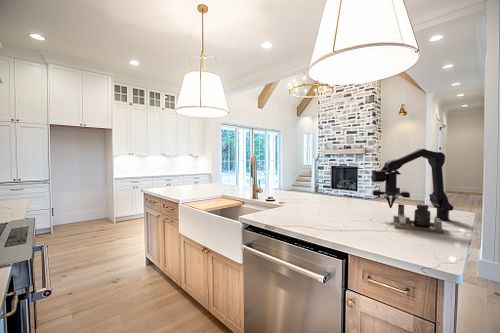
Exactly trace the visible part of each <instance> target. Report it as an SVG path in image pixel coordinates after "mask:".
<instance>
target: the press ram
mask: <svg viewBox="0 0 500 333" xmlns="http://www.w3.org/2000/svg"><path fill="white" fill-rule="evenodd" d="M397 216H398V217H399V222H398V225H405V226H407V225H406V224H407V223H406V217H407V216H406V215H405V204H398V205H397Z"/></svg>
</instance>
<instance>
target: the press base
mask: <svg viewBox="0 0 500 333" xmlns="http://www.w3.org/2000/svg"><path fill="white" fill-rule="evenodd" d="M405 217H406V224H408V223H409V224H408V225H406V226H405V225H400V224H393V225H394V227H393V228H394V229H399V230H406V229H407V231H408V230H409V231H415V232H421V233H423V232H424V233H429V234H430V233H431V234H439V235H440V234H441V235H444V230H443V220H440V219H439V218H435V217H433V222H431V221H430V228H422V227H415V226H414V220H412V219H411V218H410V217H408V216H405ZM392 220H393V223H399V217H398V215H393V219H392Z"/></svg>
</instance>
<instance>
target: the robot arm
mask: <svg viewBox="0 0 500 333" xmlns="http://www.w3.org/2000/svg"><path fill="white" fill-rule="evenodd" d="M418 158H424V159H426V160H427V162H428V165H429V166H430V167H431V168H430V169H431V176H432V178H431V179H432V193H429V194H428V195H429V201H430V203H431V204H432V205H433V208H436V214H435V215H436V216H434V218H439V219H440V220H441V221H444V222H447V221H448V222H451V219H450V211H451V212H452V211H453V209H454V206H453V205H452V204H451V203H450V201H449V198H448V196H447V194H446V192H445V189H444V188H445V187H444V176H443V175H444V173H443V166H444V164H445V162H446V154H444V153H443V152H442V151H433V150H428V149H425V148H418V149H416V150H414V151H413V152H410V153H408V154H406V155H404V156H401V157H399V158H397V159H395V158H394V159H391V160H388V161H386V162H385V163H384V165H383V167H382V168H381V169H380V170H373V171H372V174H371V181H372V183H384V182H385V186H384V190H385V191H381V190H379V189H374V190H373V191H372V195H373V196H377V197H379V196H382V195H383V198H384V199H386V201H387V204H388V206H389V209H392V208H393V205H394V203H395V201H396V199H399V197H401V198H405V199H406V198H408V199H410V198H411V197H410V196H411V193H410V192H409V191H401V188H400V187H398V186H397V181H398V180H397V178H398V177H397V176H400V175H401V174H402V173H400V172H399V171H398V170H399V169H401V168H402V167H403V165H405V164H407V163H410V162H412V161H414V160H417V159H418ZM390 197H391V198H390Z"/></svg>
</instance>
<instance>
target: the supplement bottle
mask: <svg viewBox="0 0 500 333" xmlns="http://www.w3.org/2000/svg"><path fill="white" fill-rule="evenodd" d="M431 213H432V212H431V211H430V210H429V204H428V205H427V204H422V203H417V204H416V209H414V213H413V214H414V215H413V216H414V217H413V219H414V220H413V221H414V226H415V227H422V228H430V222H431Z"/></svg>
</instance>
